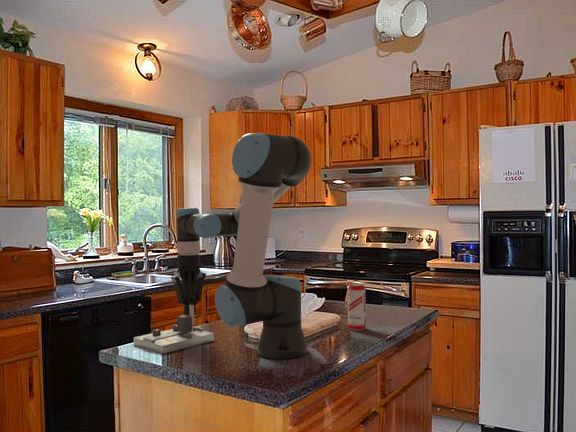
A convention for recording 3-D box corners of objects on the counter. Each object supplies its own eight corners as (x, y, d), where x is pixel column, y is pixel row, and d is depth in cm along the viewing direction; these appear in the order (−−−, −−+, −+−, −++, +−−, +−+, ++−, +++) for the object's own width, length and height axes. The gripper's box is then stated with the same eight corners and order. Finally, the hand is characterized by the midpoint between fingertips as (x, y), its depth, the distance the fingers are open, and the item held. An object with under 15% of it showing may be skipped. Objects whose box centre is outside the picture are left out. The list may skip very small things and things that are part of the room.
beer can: (364, 332, 181) (363, 286, 181) (346, 330, 184) (345, 285, 183) (367, 328, 187) (366, 283, 187) (350, 327, 189) (349, 282, 189)
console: (213, 340, 173) (213, 328, 173) (162, 353, 158) (162, 340, 158) (184, 333, 184) (184, 322, 183) (133, 344, 169) (133, 332, 169)
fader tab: (192, 331, 174) (191, 316, 174) (184, 333, 171) (184, 317, 171) (184, 330, 176) (184, 314, 176) (177, 331, 174) (177, 316, 174)
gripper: (197, 251, 182) (198, 319, 183) (165, 254, 173) (166, 326, 173) (211, 252, 177) (212, 322, 178) (179, 256, 168) (180, 329, 168)
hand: (189, 324), depth 176 cm, fingers closed
